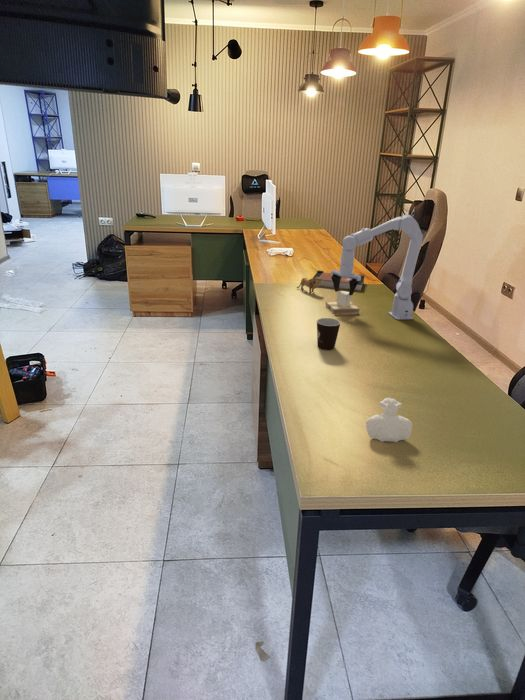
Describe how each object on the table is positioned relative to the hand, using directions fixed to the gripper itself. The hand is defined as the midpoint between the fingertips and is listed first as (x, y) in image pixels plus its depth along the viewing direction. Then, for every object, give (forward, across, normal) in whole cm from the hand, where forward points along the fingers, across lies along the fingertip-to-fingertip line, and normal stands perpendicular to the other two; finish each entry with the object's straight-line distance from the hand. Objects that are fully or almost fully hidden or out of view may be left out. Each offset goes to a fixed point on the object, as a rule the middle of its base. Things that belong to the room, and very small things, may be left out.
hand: (343, 293), depth 218 cm
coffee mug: (+8, -19, +41) cm, 46 cm away
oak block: (+9, 0, 0) cm, 9 cm away
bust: (+8, -65, +81) cm, 104 cm away
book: (+9, +26, -37) cm, 46 cm away
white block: (+6, 0, 0) cm, 6 cm away
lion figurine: (+8, +28, -13) cm, 32 cm away
